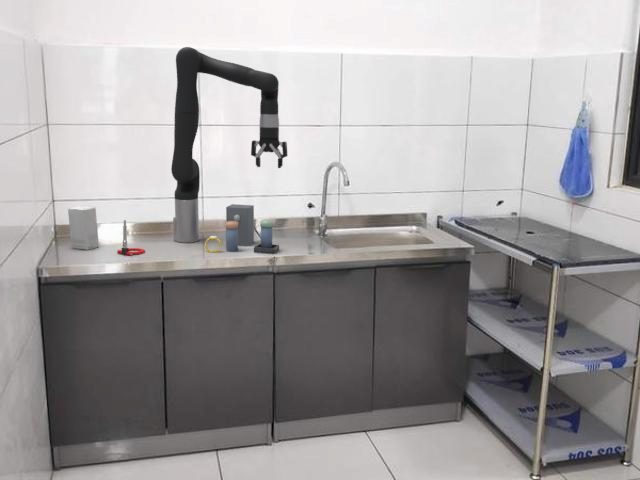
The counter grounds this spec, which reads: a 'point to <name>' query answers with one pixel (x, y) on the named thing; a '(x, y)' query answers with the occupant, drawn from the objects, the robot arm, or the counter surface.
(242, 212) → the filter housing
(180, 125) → the robot arm
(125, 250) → the tow hook
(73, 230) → the grey paper bag
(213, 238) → the watch
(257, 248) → the tray
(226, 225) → the terracotta cap cartridge
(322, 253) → the counter surface
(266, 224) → the green cap cartridge
